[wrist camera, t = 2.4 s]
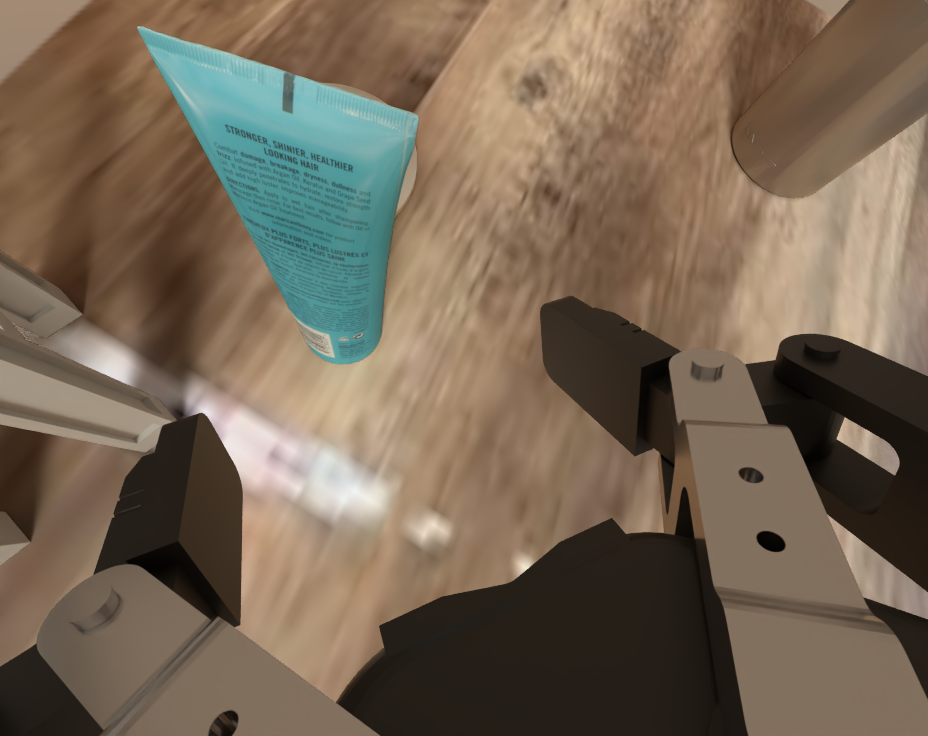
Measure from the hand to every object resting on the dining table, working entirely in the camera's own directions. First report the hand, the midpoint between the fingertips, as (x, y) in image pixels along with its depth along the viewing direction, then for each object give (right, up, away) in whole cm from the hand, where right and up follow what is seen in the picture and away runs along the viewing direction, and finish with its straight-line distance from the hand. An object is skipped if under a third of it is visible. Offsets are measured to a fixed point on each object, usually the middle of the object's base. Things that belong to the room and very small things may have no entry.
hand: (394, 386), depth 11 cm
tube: (-6, +3, +20) cm, 21 cm away
